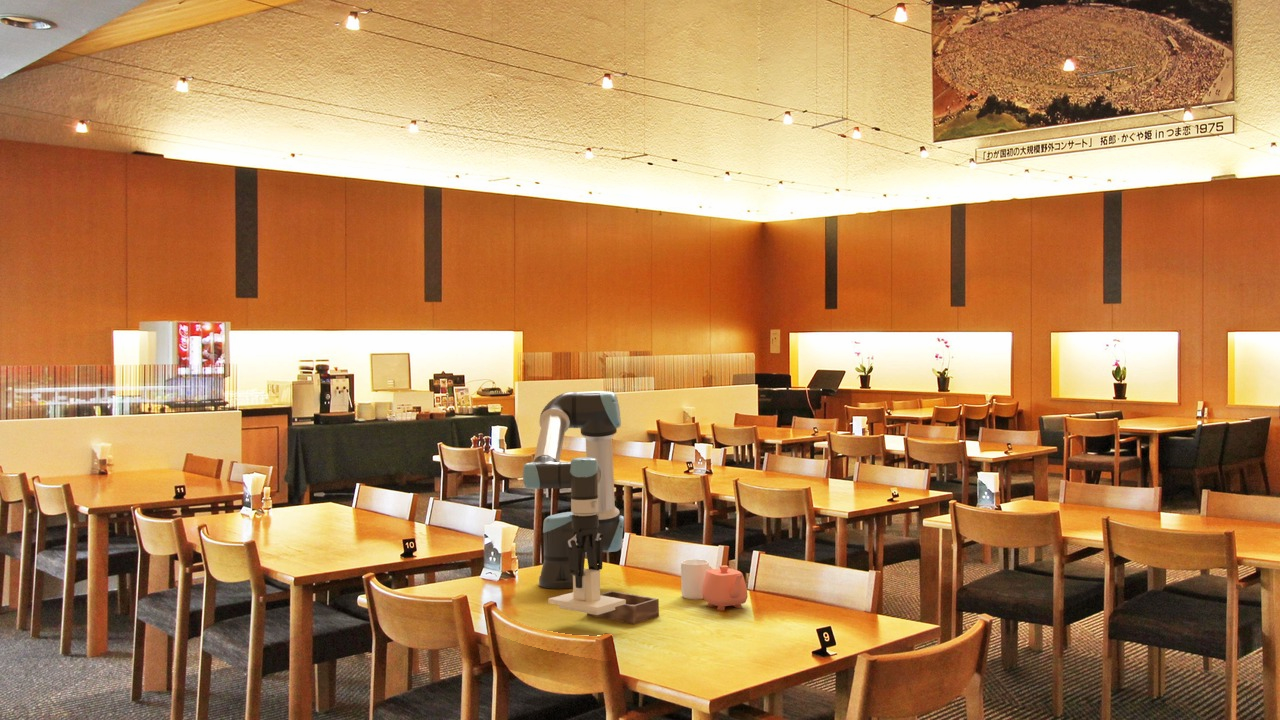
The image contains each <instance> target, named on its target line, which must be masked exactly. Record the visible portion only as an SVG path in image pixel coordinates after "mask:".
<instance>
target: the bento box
mask: <svg viewBox="0 0 1280 720" xmlns="http://www.w3.org/2000/svg"><path fill="white" fill-rule="evenodd" d="M600 595H602V596H608V597H613V598H619V599H625V600H626V604H624V605H621V606H617V607H615V610H613V611H610V612H606V613H603V614H599V615H594V614H589V613H586V616H590V617H596V618H601V619H606V620H610V621H616V622H621V623H626V624H631V625H636V624H638V623H639V624H640V623H643V622H645V621H650V620H652V619H655V618H658V617H660V609H659V608H660V603H659V602H660V600H659V598H655V597H650V596H643V595H638V594H631V593H627V592H625V593H624V592H620V591H616V590H615V591H614V590H610V591H607V592H603V593H600Z"/></svg>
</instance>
